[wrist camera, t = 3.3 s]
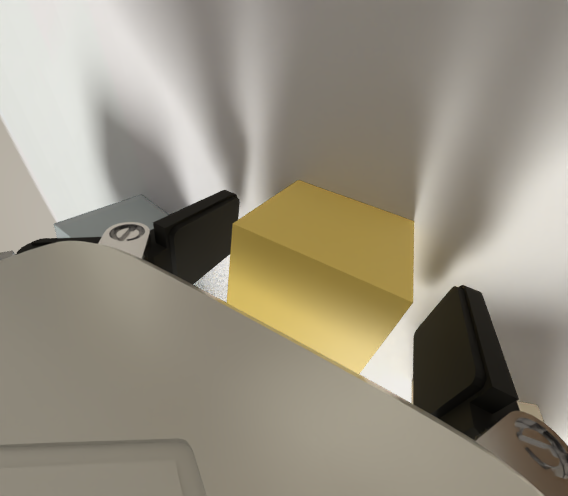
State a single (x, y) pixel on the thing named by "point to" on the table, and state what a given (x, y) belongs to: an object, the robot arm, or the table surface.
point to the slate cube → (110, 218)
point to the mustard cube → (323, 271)
